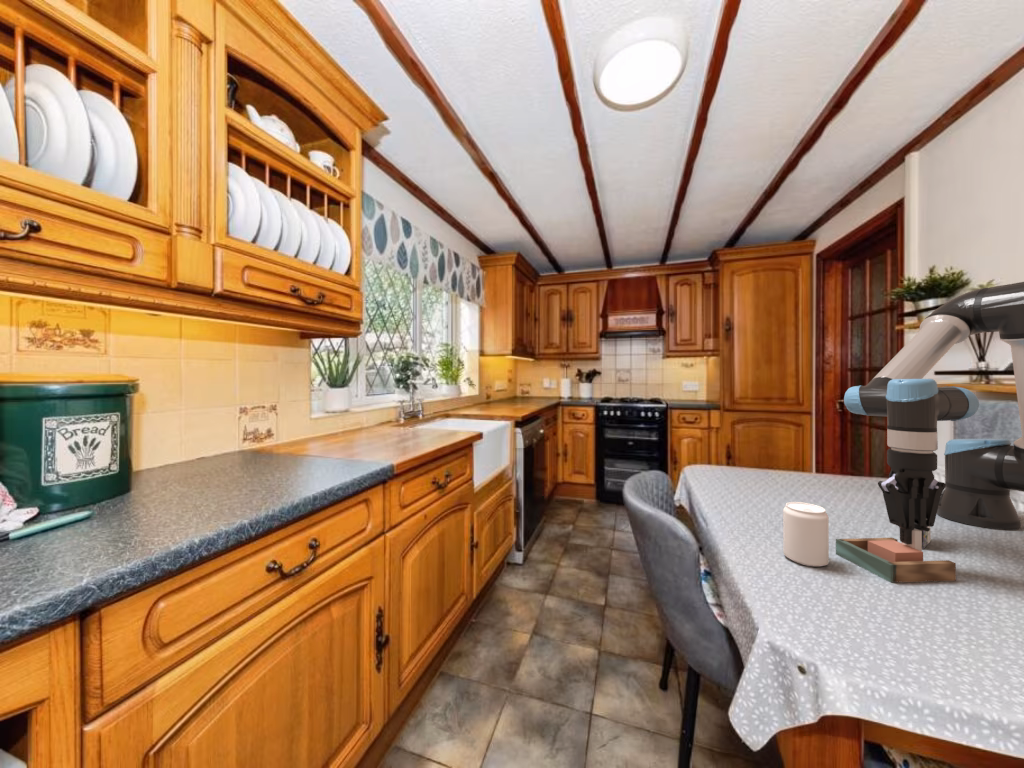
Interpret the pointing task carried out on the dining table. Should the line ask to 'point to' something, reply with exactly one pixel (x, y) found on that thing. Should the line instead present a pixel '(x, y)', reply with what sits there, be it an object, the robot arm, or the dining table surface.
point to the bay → (894, 563)
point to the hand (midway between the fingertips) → (911, 558)
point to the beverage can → (806, 534)
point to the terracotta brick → (894, 551)
